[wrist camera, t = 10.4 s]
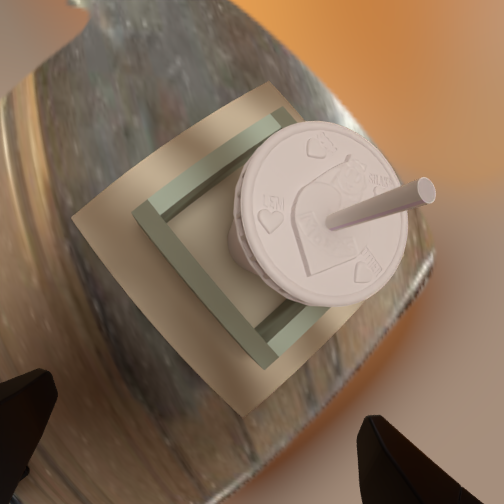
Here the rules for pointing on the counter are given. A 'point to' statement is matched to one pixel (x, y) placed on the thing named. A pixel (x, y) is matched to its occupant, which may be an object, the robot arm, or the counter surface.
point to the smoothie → (322, 215)
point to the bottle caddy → (207, 255)
